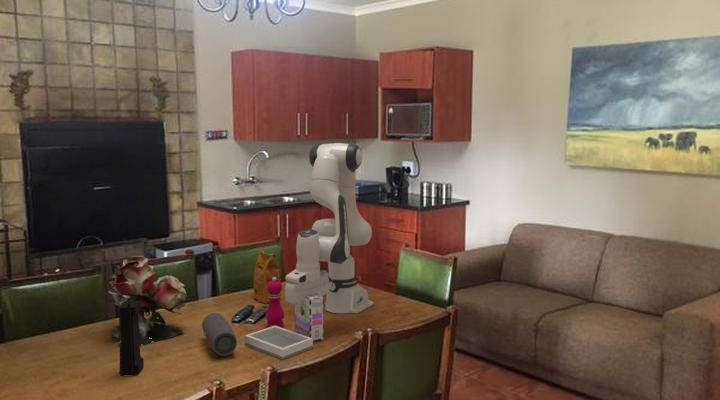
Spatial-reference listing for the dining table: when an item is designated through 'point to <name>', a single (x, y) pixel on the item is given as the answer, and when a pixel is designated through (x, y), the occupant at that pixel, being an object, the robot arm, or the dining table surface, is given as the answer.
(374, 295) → the dining table surface
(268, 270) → the coffee package
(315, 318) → the candy box
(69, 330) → the dining table surface
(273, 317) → the pepper mill
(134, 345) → the portable radio
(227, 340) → the bluetooth speaker
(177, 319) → the dining table surface
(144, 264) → the rose bouquet
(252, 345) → the white tray
